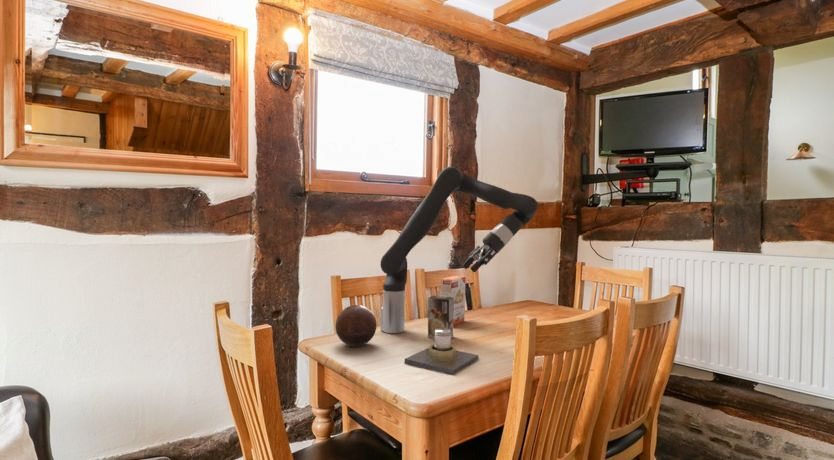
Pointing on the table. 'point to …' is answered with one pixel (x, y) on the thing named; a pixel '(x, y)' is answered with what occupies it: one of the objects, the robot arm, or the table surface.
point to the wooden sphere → (355, 325)
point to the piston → (442, 339)
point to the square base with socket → (442, 360)
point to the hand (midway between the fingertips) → (467, 268)
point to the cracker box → (455, 295)
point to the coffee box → (440, 314)
